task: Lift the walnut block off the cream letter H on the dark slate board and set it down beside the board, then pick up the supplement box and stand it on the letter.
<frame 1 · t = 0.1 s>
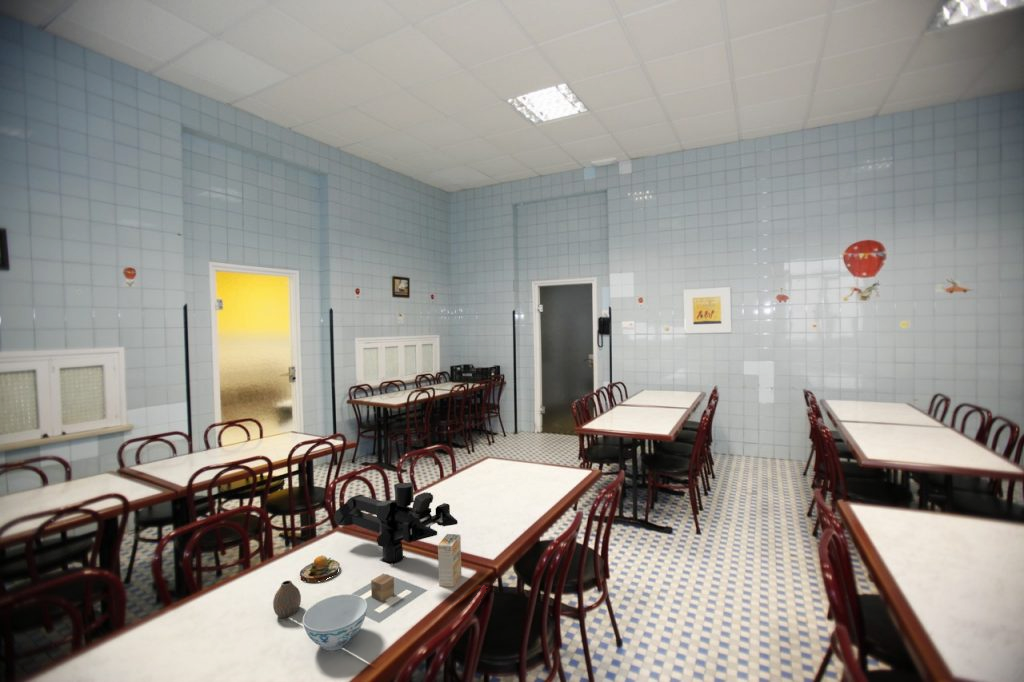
hand: (447, 527, 143), 17 cm above the table, tool horizontal, fingers open, 9 cm apart
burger: (320, 574, 150), on the table
chinaware: (336, 642, 116), on the table
letter board: (383, 598, 135), on the table
walnut block: (383, 595, 135), point 1 cm above the table, touching letter board
vase: (287, 614, 128), on the table
supplement box: (450, 582, 143), on the table
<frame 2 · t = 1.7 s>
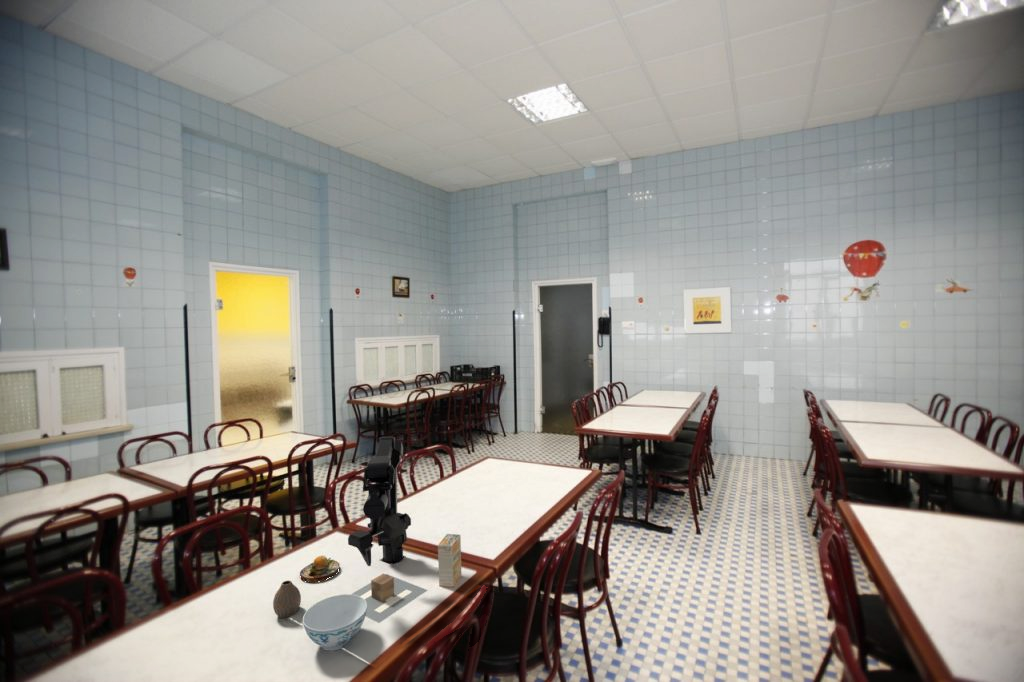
hand: (382, 558, 135), 11 cm above the table, tool pointing down, fingers open, 9 cm apart
nothing on the table moved.
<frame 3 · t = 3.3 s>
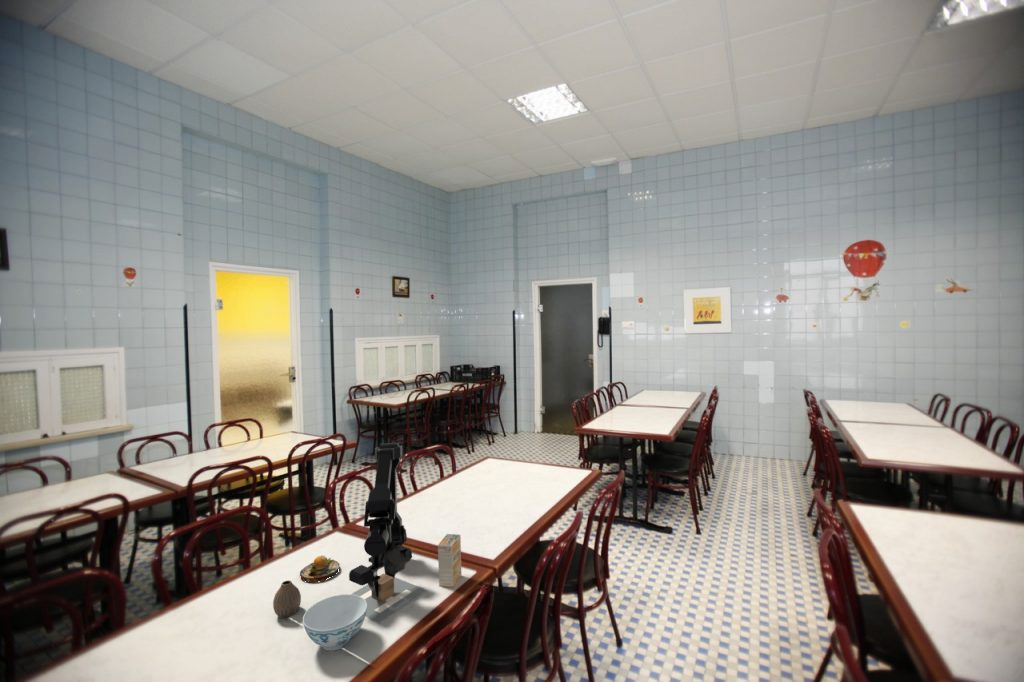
hand: (382, 592, 135), 2 cm above the table, tool pointing down, fingers closed on walnut block, 4 cm apart
walnut block: (383, 595, 135), point 1 cm above the table, touching gripper, letter board
everything else where it was.
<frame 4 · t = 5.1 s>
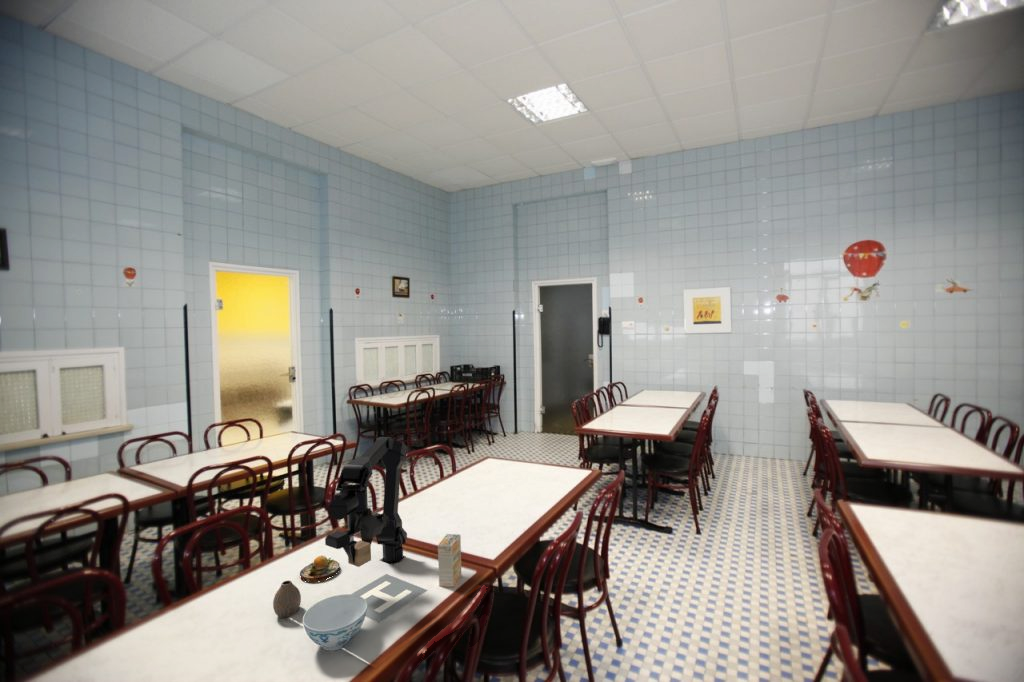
hand: (359, 558, 136), 11 cm above the table, tool pointing down, fingers closed on walnut block, 4 cm apart
walnut block: (359, 561, 136), point 10 cm above the table, touching gripper
everything else where it was.
when the fingers open (2 cm above the table, at t = 7.2 s): walnut block drops 2 cm, on the table.
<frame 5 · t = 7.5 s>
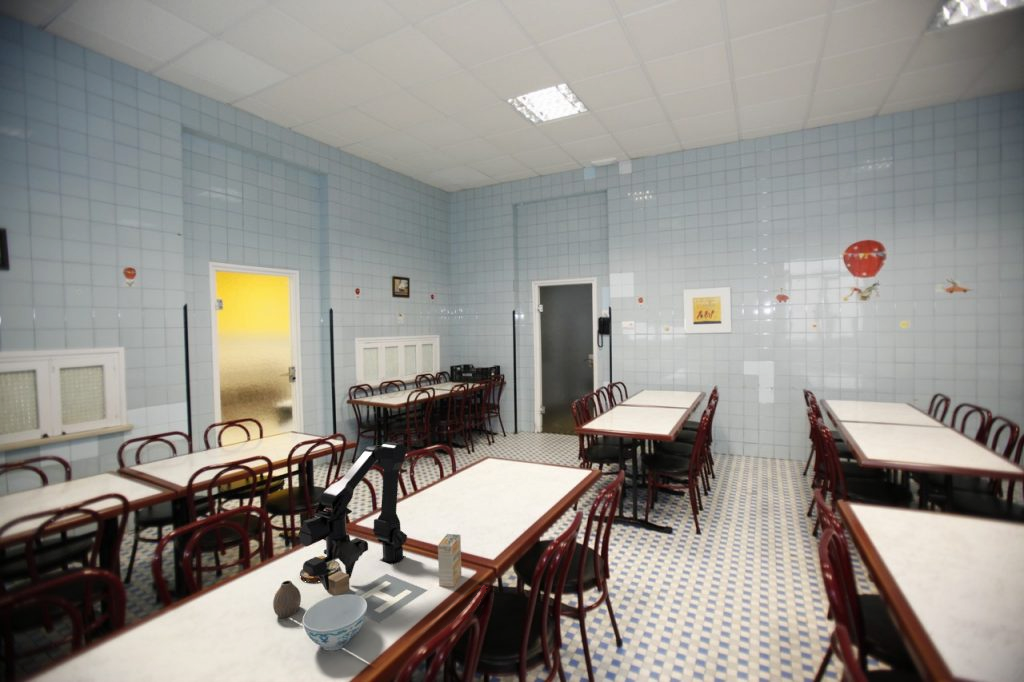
hand: (338, 584, 138), 2 cm above the table, tool pointing down, fingers open, 7 cm apart
walnut block: (338, 592, 138), on the table
everything else where it was.
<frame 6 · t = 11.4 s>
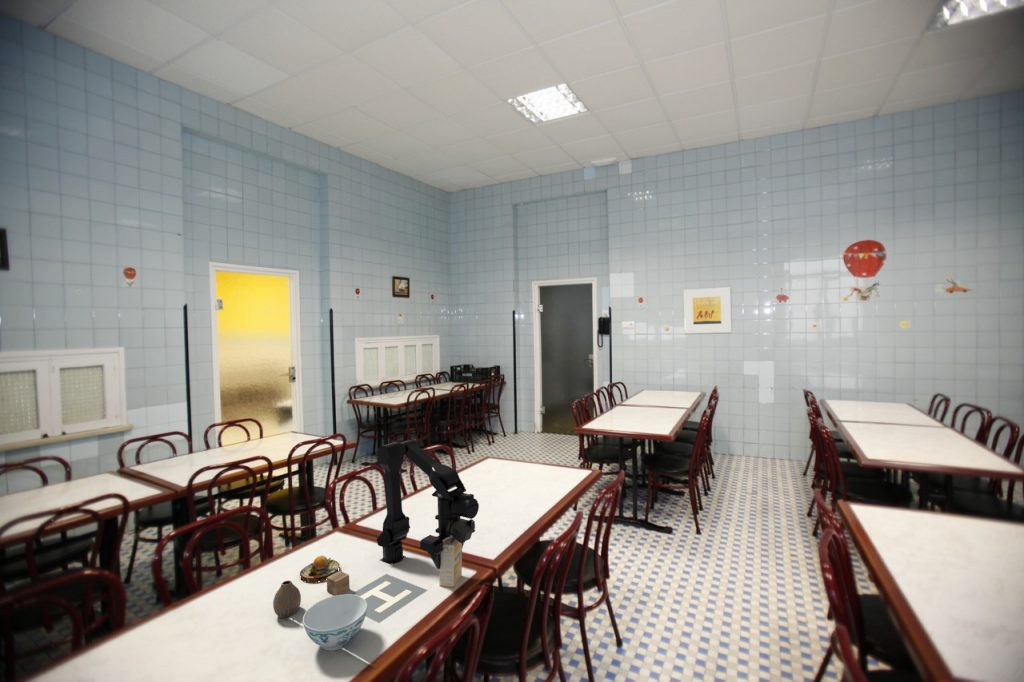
hand: (448, 562, 143), 6 cm above the table, tool pointing down, fingers closed on supplement box, 9 cm apart
supplement box: (451, 581, 143), on the table, touching gripper
everything else where it was.
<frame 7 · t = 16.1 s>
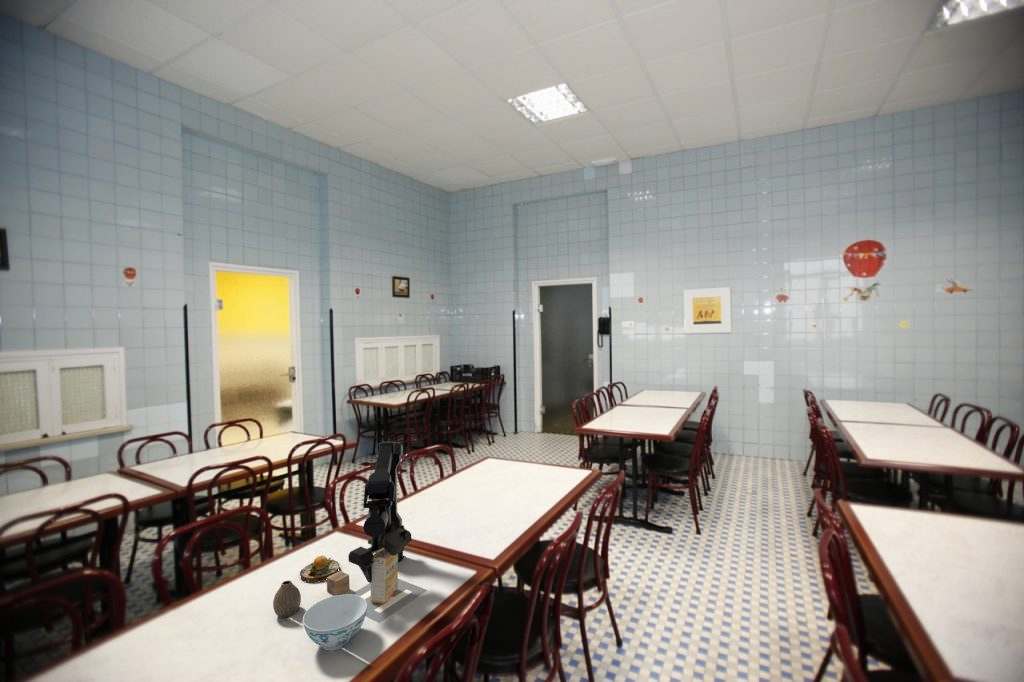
hand: (382, 575, 135), 7 cm above the table, tool pointing down, fingers closed on supplement box, 9 cm apart
supplement box: (384, 596, 135), point 1 cm above the table, touching gripper, letter board
everything else where it was.
when the fingers open (7 cm above the table, at t = 17.1 s): supplement box stays where it is, resting on letter board.
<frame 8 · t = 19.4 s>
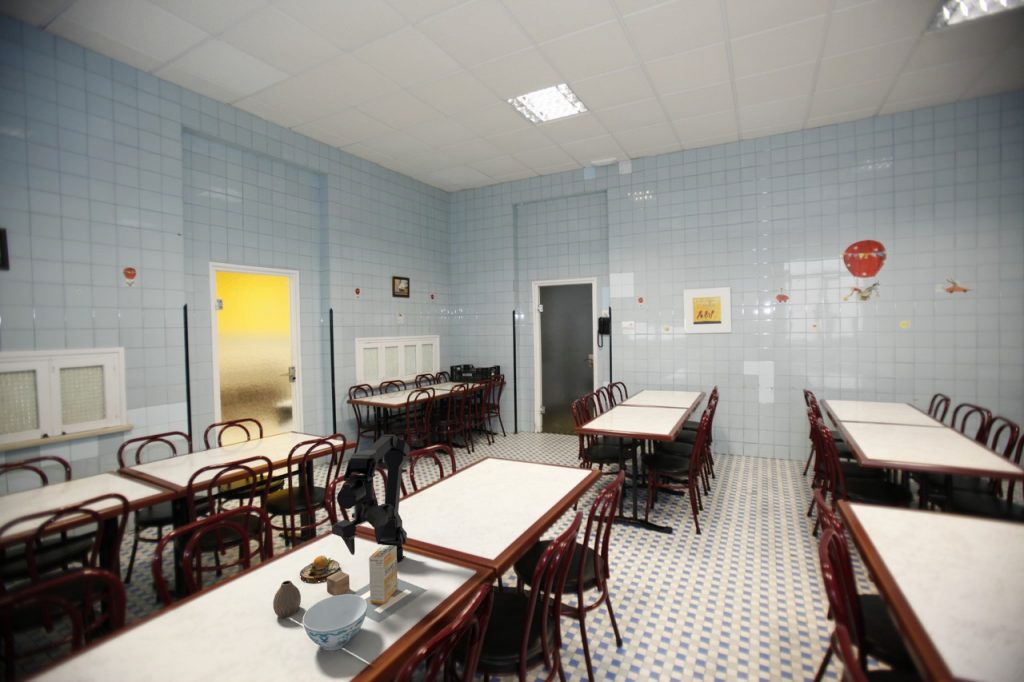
hand: (365, 548, 138), 13 cm above the table, tool pointing down, fingers open, 9 cm apart
supplement box: (384, 596, 135), resting on letter board
everything else where it was.
at the end: supplement box inside the target area on the letter board (0.5 cm from its centre), point 0.4 cm above the letter board's base; supplement box tilted 0°; walnut block touching table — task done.
